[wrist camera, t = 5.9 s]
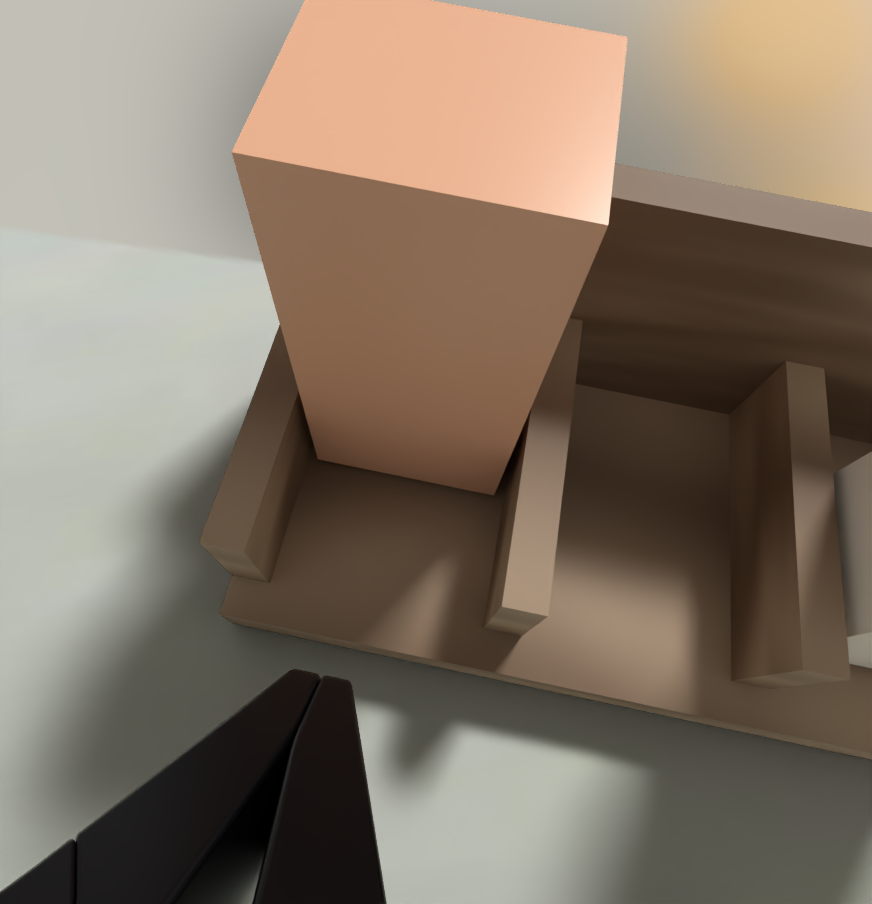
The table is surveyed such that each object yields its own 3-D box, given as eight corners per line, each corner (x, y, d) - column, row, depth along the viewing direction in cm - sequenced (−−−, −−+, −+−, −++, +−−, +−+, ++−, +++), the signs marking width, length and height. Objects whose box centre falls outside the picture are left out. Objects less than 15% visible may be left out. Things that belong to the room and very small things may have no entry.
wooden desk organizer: (994, 786, 16) (1536, 835, 9) (233, 623, 17) (96, 531, 9) (939, 456, 20) (1272, 288, 13) (328, 333, 21) (289, 100, 13)
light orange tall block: (493, 495, 17) (608, 225, 8) (317, 459, 17) (232, 152, 8) (513, 374, 19) (627, 37, 10) (353, 342, 19) (315, -21, 10)
